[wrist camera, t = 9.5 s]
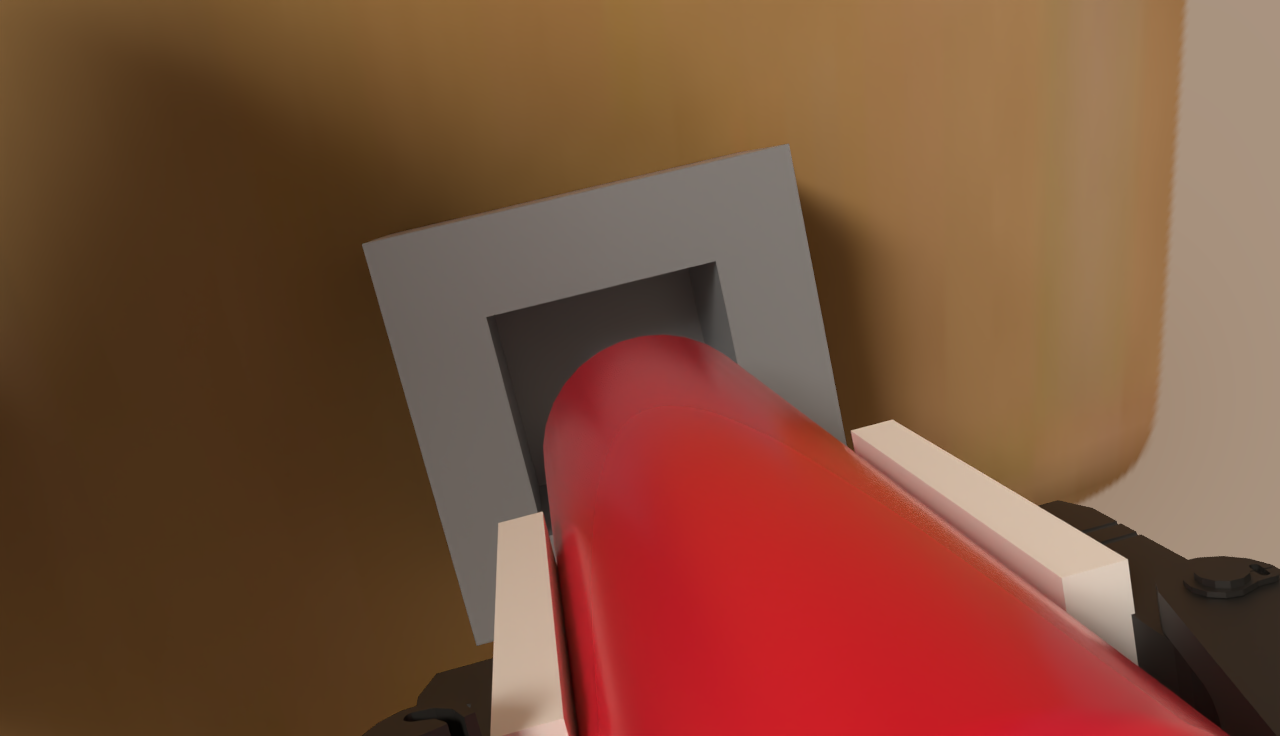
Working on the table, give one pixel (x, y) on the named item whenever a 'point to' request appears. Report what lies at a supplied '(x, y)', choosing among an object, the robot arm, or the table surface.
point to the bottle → (792, 579)
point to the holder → (587, 322)
